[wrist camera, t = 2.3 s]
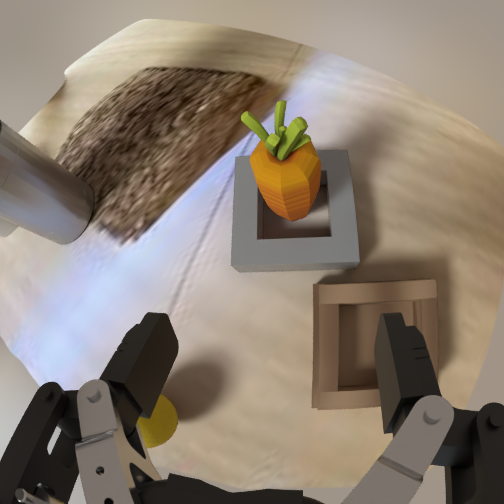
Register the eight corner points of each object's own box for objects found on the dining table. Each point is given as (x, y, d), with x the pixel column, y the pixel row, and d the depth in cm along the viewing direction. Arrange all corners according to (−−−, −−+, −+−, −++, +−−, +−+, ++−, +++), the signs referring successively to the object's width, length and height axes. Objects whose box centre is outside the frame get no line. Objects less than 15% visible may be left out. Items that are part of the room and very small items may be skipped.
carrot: (260, 213, 30) (214, 118, 16) (298, 184, 30) (279, 75, 16) (292, 250, 29) (268, 170, 15) (331, 217, 29) (339, 117, 15)
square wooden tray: (311, 404, 25) (310, 415, 21) (313, 286, 28) (312, 279, 24) (425, 395, 22) (440, 403, 19) (425, 281, 25) (440, 273, 22)
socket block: (239, 272, 29) (230, 265, 26) (242, 171, 32) (235, 156, 29) (355, 268, 27) (359, 261, 24) (345, 165, 30) (347, 149, 27)
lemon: (134, 408, 28) (87, 422, 20) (161, 374, 28) (115, 383, 21) (171, 444, 26) (130, 469, 18) (200, 411, 26) (163, 434, 19)
